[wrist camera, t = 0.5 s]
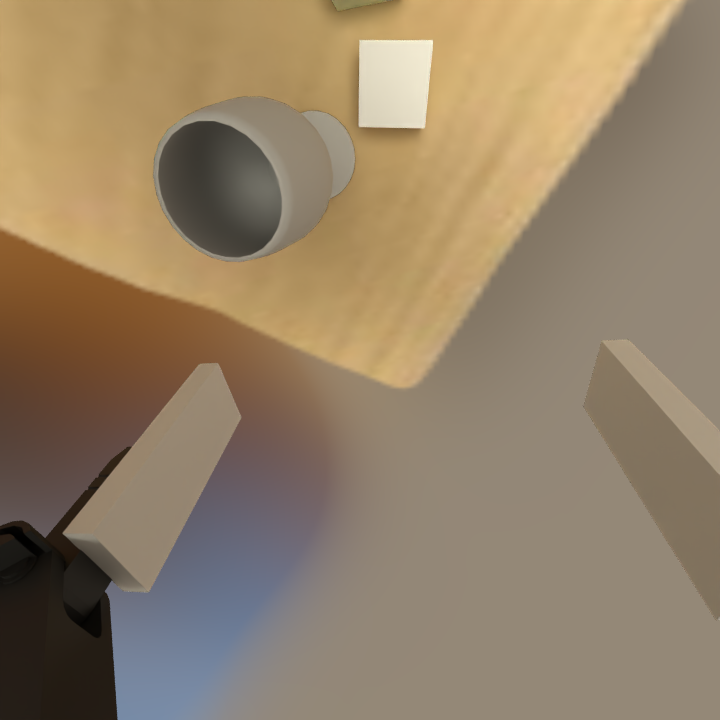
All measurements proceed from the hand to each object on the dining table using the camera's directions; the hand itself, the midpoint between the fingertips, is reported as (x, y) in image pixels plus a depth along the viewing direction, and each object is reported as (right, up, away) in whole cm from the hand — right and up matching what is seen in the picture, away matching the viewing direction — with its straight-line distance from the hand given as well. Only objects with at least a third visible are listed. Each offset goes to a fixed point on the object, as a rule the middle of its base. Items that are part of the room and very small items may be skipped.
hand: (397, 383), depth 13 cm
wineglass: (-5, +20, +20) cm, 29 cm away
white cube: (+2, +23, +17) cm, 29 cm away
